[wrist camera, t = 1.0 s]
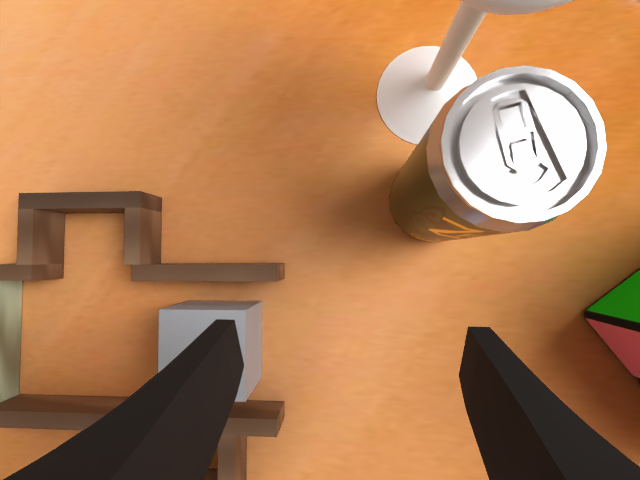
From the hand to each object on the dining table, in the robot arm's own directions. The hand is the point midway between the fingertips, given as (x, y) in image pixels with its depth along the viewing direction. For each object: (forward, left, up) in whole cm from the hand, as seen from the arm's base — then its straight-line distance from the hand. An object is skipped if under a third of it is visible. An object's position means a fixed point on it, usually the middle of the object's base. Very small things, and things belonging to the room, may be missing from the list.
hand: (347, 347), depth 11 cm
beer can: (+6, -5, -12) cm, 15 cm away
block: (-3, +8, -12) cm, 15 cm away
